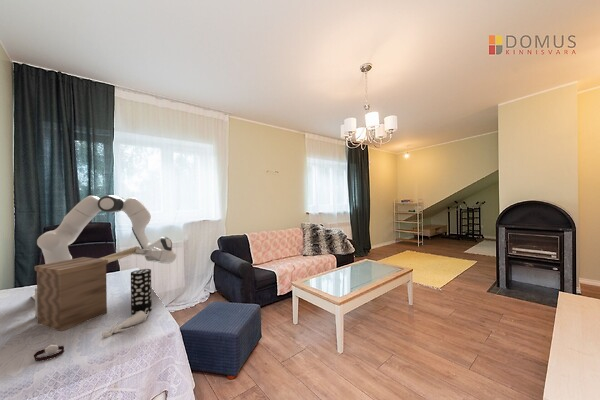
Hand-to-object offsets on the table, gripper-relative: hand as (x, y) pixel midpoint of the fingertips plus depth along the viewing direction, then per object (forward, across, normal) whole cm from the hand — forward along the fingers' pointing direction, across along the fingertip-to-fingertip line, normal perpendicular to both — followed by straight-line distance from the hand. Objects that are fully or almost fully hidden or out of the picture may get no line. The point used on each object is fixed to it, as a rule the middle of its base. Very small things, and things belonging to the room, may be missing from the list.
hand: (132, 250), depth 135 cm
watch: (+33, +26, +42) cm, 60 cm away
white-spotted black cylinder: (+2, +25, +29) cm, 38 cm away
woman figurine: (+13, +32, +34) cm, 49 cm away
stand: (+15, -1, +35) cm, 38 cm away
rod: (+5, 0, +5) cm, 7 cm away
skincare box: (+17, -18, +36) cm, 44 cm away
